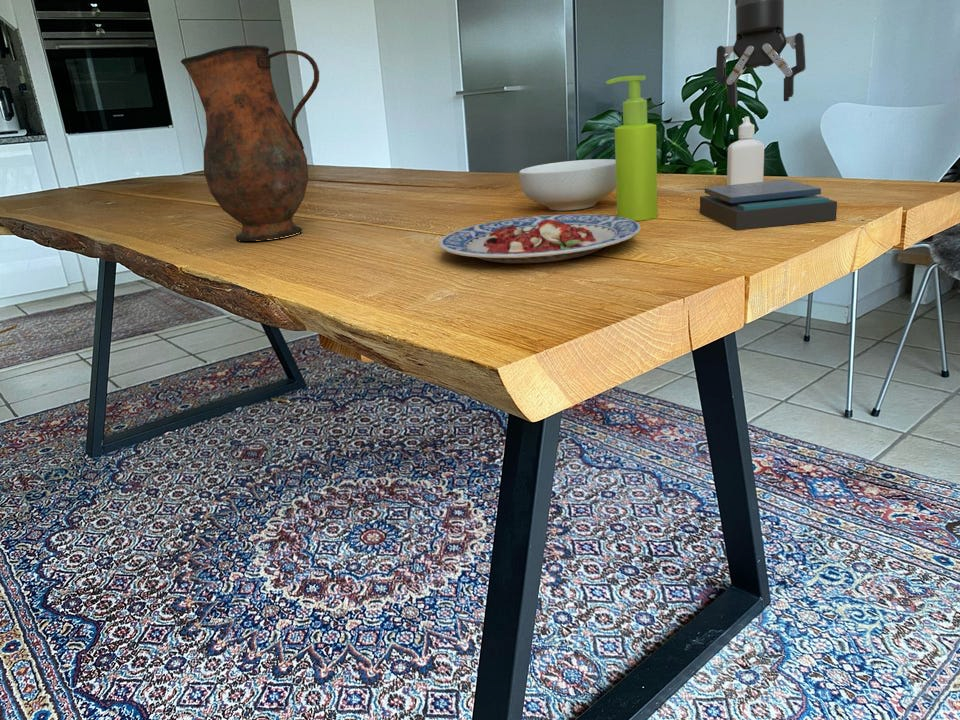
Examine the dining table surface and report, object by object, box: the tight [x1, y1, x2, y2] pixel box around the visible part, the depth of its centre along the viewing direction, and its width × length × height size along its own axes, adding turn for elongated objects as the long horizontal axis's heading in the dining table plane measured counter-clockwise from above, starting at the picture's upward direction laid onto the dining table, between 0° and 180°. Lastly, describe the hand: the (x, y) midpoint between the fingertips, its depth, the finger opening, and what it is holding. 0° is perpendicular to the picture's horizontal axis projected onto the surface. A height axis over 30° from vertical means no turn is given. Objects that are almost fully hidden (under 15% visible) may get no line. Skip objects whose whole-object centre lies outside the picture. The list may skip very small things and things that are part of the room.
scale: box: [699, 195, 838, 231], centre depth 102 cm, size 13×15×3 cm
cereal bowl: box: [518, 158, 616, 212], centre depth 124 cm, size 17×17×7 cm
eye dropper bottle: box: [726, 116, 765, 185], centre depth 122 cm, size 4×6×12 cm
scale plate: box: [704, 179, 822, 203], centre depth 102 cm, size 12×11×1 cm
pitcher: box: [180, 44, 320, 242], centre depth 122 cm, size 17×21×30 cm
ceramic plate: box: [438, 213, 641, 264], centre depth 95 cm, size 26×26×3 cm
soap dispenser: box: [605, 75, 658, 222], centre depth 107 cm, size 6×7×20 cm
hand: (759, 104), depth 128 cm, fingers open, 8 cm apart
